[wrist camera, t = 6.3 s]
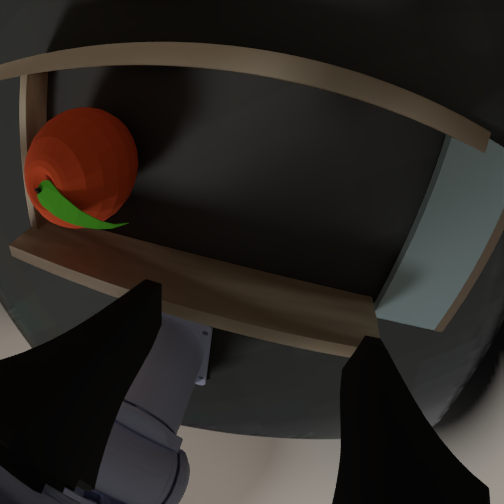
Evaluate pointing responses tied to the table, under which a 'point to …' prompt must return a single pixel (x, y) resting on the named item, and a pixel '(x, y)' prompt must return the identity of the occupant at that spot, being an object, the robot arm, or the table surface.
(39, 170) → the clementine
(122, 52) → the crate
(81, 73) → the table surface
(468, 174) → the panel
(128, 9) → the table surface
